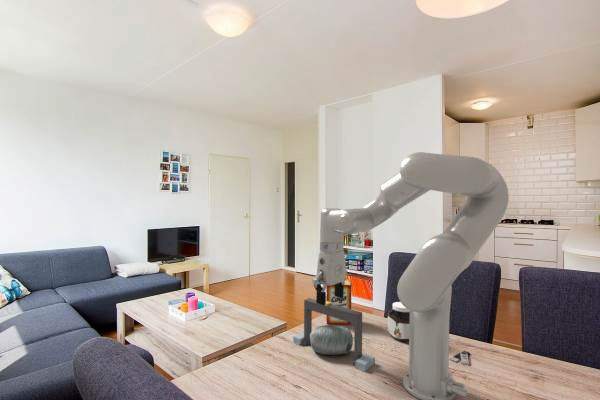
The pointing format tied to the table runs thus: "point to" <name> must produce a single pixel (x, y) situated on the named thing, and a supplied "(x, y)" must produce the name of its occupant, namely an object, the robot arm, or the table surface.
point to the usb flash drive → (462, 357)
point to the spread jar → (399, 322)
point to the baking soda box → (339, 302)
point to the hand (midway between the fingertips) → (330, 300)
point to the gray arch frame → (336, 313)
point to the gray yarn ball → (331, 340)
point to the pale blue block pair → (361, 363)
